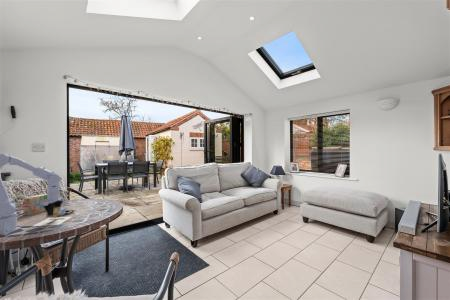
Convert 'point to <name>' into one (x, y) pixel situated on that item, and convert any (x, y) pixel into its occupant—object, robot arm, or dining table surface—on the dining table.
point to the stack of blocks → (34, 204)
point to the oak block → (55, 212)
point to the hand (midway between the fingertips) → (53, 213)
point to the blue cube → (62, 211)
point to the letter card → (53, 221)
